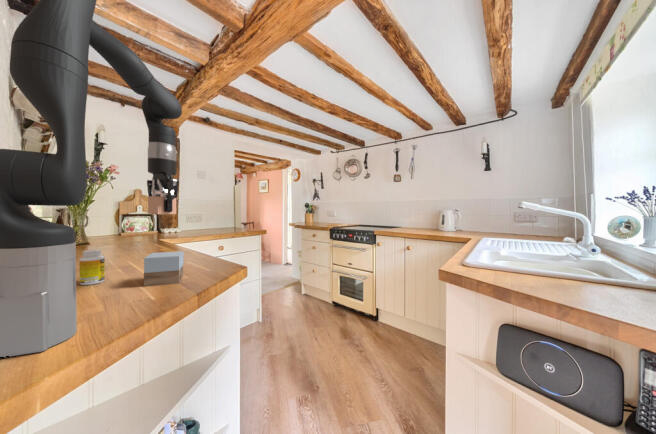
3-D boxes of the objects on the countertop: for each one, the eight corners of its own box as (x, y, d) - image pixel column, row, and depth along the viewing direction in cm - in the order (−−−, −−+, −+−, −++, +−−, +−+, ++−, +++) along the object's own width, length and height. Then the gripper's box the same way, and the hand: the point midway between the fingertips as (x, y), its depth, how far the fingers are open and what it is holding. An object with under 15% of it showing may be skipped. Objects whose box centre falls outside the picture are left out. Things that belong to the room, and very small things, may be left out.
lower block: (178, 284, 74) (178, 270, 74) (143, 287, 70) (143, 272, 70) (183, 276, 82) (183, 263, 82) (152, 279, 78) (152, 266, 78)
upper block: (179, 270, 74) (179, 256, 73) (144, 272, 70) (144, 258, 70) (183, 263, 82) (183, 251, 82) (152, 266, 78) (152, 252, 78)
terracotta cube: (176, 214, 76) (176, 197, 76) (157, 214, 71) (157, 196, 71) (166, 213, 79) (166, 197, 78) (148, 213, 74) (148, 196, 74)
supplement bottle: (103, 283, 72) (103, 250, 72) (77, 287, 69) (77, 252, 68) (105, 279, 76) (105, 248, 76) (81, 282, 73) (81, 250, 73)
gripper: (187, 159, 74) (187, 212, 75) (162, 162, 81) (162, 211, 82) (162, 154, 68) (162, 212, 68) (136, 158, 74) (137, 211, 75)
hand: (162, 211), depth 75 cm, fingers closed on terracotta cube, 5 cm apart
